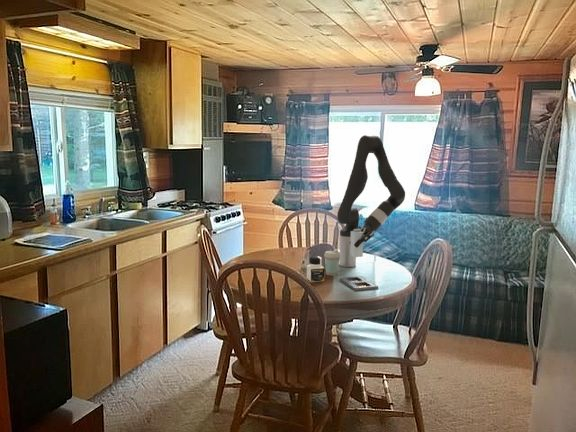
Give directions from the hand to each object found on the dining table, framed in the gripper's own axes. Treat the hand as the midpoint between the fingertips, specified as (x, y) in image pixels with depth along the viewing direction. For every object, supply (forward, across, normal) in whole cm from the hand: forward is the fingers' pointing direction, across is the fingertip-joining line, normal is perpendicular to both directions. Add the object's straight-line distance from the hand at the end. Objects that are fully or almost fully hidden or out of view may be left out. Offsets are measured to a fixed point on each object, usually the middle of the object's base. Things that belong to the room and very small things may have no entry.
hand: (353, 245), depth 233 cm
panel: (+12, +3, +15) cm, 19 cm away
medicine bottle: (+25, -11, +3) cm, 27 cm away
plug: (+3, 0, +5) cm, 6 cm away
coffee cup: (+16, -18, +11) cm, 26 cm away
